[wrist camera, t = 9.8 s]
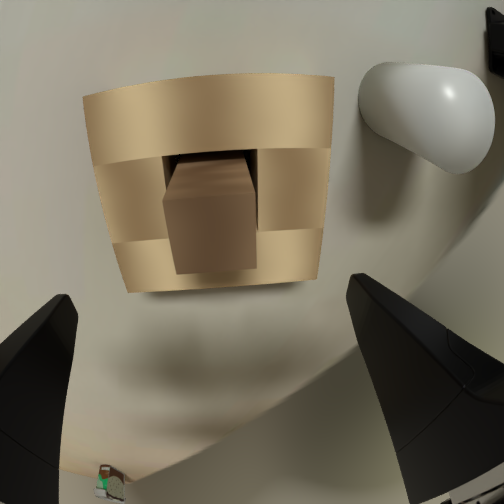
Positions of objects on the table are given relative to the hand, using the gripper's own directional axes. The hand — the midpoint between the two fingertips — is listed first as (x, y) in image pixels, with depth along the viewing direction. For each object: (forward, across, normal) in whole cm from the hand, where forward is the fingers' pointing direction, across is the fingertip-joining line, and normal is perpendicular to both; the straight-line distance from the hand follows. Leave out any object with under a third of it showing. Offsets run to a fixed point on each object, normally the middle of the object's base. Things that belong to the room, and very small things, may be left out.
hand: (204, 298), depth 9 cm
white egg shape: (+11, -12, -5) cm, 17 cm away
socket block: (+11, 0, 0) cm, 11 cm away
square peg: (+11, 0, 0) cm, 11 cm away
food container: (+12, +38, +74) cm, 84 cm away
